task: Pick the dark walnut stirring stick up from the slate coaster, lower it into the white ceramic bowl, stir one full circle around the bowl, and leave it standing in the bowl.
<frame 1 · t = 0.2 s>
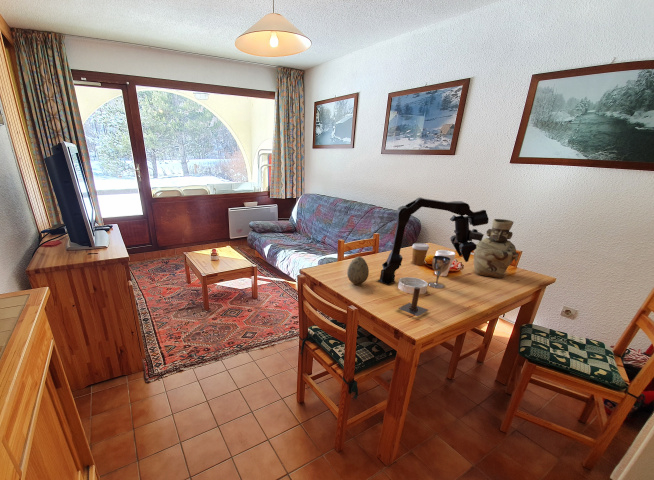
hand: (463, 258, 153), 15 cm above the table, tool pointing down, fingers open, 9 cm apart
ceramic vessel: (488, 272, 178), on the table
stirring stick: (413, 309, 133), point 1 cm above the table, touching coaster
bowl: (411, 291, 154), on the table
disposable coffee cup: (417, 263, 193), on the table
decorative egg: (356, 284, 163), on the table
coaster: (412, 312, 134), on the table
foam cup: (440, 274, 176), on the table
wine glass: (435, 285, 161), on the table
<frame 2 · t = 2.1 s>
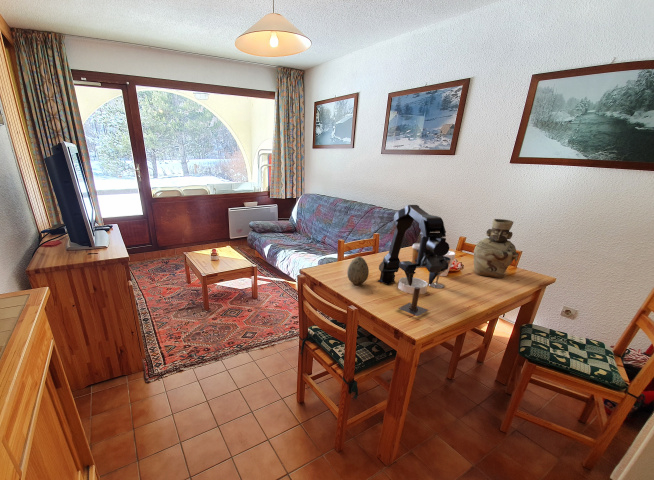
hand: (420, 284, 129), 13 cm above the table, tool pointing down, fingers open, 9 cm apart
nothing on the table moved.
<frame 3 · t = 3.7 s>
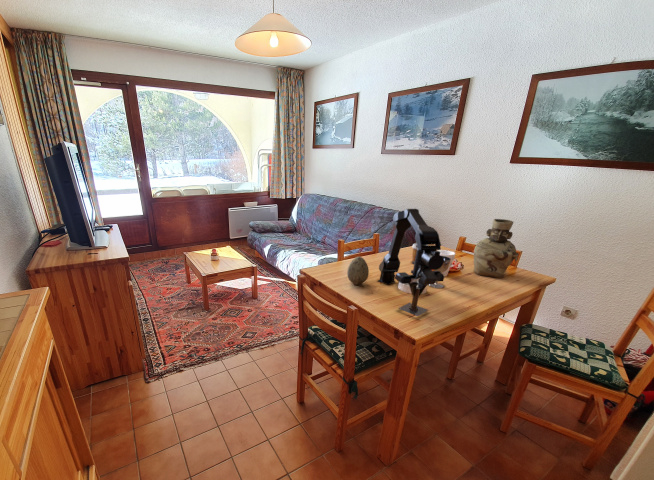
hand: (415, 295, 131), 8 cm above the table, tool pointing down, fingers closed on stirring stick, 2 cm apart
stirring stick: (413, 309, 133), point 2 cm above the table, touching coaster, gripper
everything else where it was.
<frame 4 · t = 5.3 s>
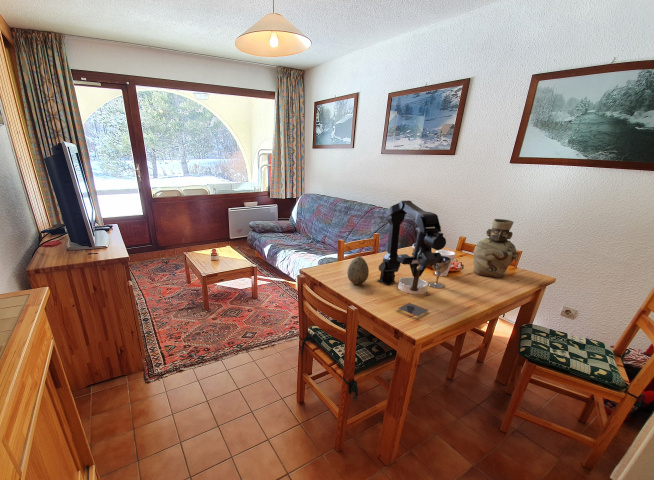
hand: (416, 276, 139), 13 cm above the table, tool pointing down, fingers closed on stirring stick, 2 cm apart
stirring stick: (413, 289, 141), point 6 cm above the table, touching gripper
everything else where it was.
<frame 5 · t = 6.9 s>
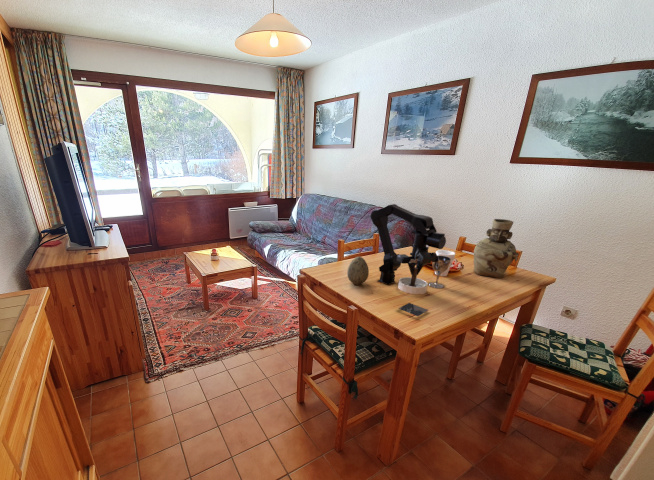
hand: (414, 274, 151), 9 cm above the table, tool pointing down, fingers closed on stirring stick, 2 cm apart
stirring stick: (412, 286, 153), point 2 cm above the table, touching gripper
everything else where it was.
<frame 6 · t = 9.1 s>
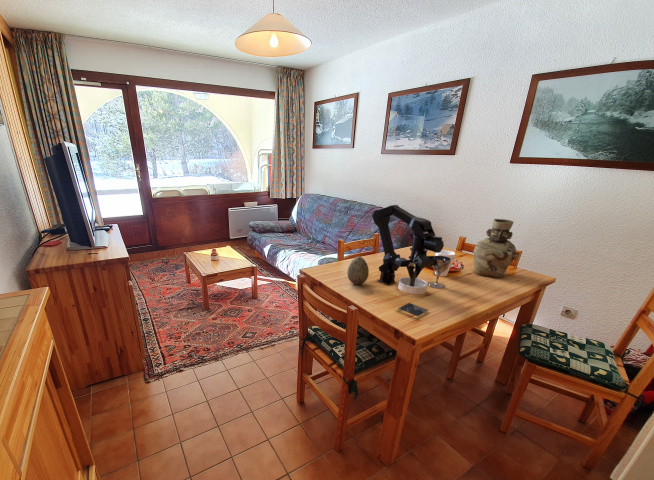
hand: (413, 278, 150), 8 cm above the table, tool pointing down, fingers closed on stirring stick, 2 cm apart
stirring stick: (411, 290, 153), point 1 cm above the table, touching gripper
everything else where it was.
when the fingers open (7 cm above the table, at t = 10.4 s): stirring stick stays where it is, resting on bowl.
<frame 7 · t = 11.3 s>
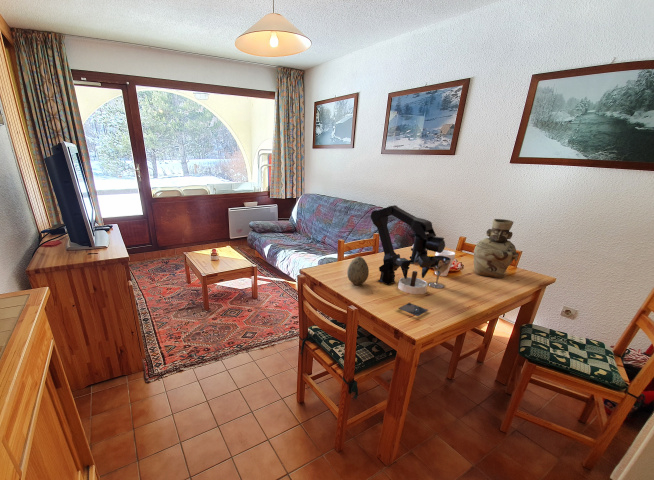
hand: (413, 278, 151), 7 cm above the table, tool pointing down, fingers open, 9 cm apart
stirring stick: (411, 290, 154), resting on bowl
everything else where it was.
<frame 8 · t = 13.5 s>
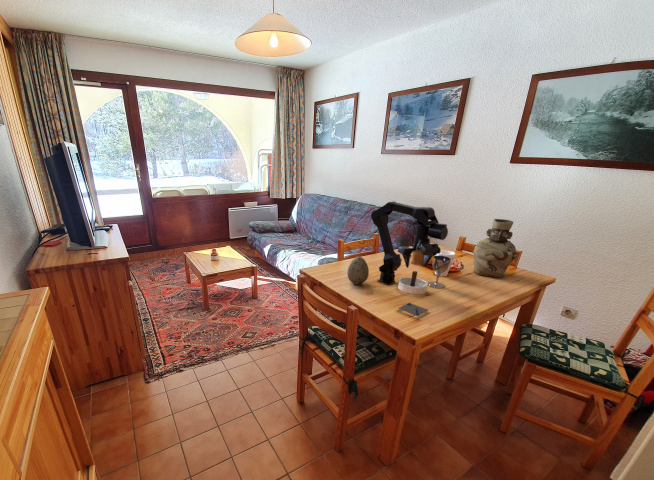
hand: (416, 266, 149), 13 cm above the table, tool pointing down, fingers open, 9 cm apart
nothing on the table moved.
at the end: stirring stick inside the target area in the bowl (0.0 cm from its centre), point 0.5 cm above the bowl's base; stirring stick moved 23.4 cm from its start; the gripper is holding nothing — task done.
